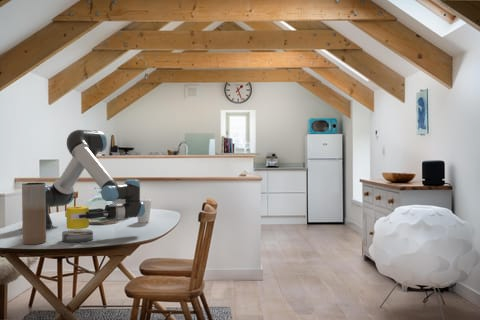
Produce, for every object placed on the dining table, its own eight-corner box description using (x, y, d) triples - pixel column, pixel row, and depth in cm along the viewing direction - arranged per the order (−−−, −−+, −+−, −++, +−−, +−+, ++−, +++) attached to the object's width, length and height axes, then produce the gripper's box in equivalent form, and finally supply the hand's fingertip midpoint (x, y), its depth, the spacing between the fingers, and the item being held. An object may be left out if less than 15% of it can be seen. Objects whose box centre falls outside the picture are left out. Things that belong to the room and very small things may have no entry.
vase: (18, 244, 208) (17, 184, 207) (31, 240, 218) (30, 182, 217) (37, 245, 206) (37, 184, 205) (50, 240, 216) (49, 182, 215)
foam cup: (132, 221, 272) (132, 200, 271) (146, 220, 278) (146, 198, 277) (140, 223, 264) (140, 201, 264) (154, 222, 271) (154, 200, 270)
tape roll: (65, 226, 220) (65, 207, 220) (87, 224, 224) (87, 205, 224) (67, 229, 211) (67, 209, 211) (89, 228, 215) (89, 208, 215)
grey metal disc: (58, 239, 220) (58, 231, 220) (88, 236, 228) (88, 228, 228) (66, 244, 208) (66, 235, 208) (96, 240, 216) (96, 232, 216)
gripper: (122, 222, 219) (74, 226, 206) (106, 216, 237) (62, 220, 224) (122, 206, 219) (74, 210, 206) (106, 202, 237) (62, 205, 224)
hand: (68, 215), depth 215 cm, fingers closed on tape roll, 10 cm apart
